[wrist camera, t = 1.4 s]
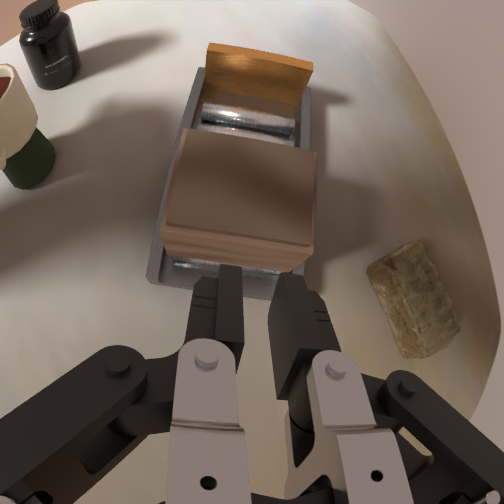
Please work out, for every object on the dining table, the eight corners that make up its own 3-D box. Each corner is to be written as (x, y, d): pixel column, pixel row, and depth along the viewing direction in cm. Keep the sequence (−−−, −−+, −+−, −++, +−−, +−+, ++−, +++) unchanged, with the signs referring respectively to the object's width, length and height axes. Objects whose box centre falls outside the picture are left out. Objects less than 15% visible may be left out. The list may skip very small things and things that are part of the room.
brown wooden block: (288, 272, 27) (316, 251, 21) (167, 254, 26) (158, 227, 19) (294, 186, 29) (319, 148, 23) (184, 168, 28) (183, 123, 21)
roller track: (292, 303, 30) (320, 291, 23) (150, 283, 28) (136, 265, 21) (303, 102, 36) (321, 63, 30) (197, 83, 35) (200, 39, 28)
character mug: (6, 143, 29) (-41, 75, 16) (55, 119, 30) (19, 41, 18) (12, 220, 27) (-57, 162, 14) (67, 194, 29) (13, 119, 16)
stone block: (397, 247, 33) (424, 233, 29) (437, 336, 32) (466, 334, 27) (359, 268, 32) (385, 256, 27) (402, 364, 30) (432, 366, 25)
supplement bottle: (63, 94, 31) (36, 24, 20) (28, 88, 31) (-1, 26, 20) (92, 59, 34) (76, -10, 22) (56, 55, 33) (37, -7, 22)
